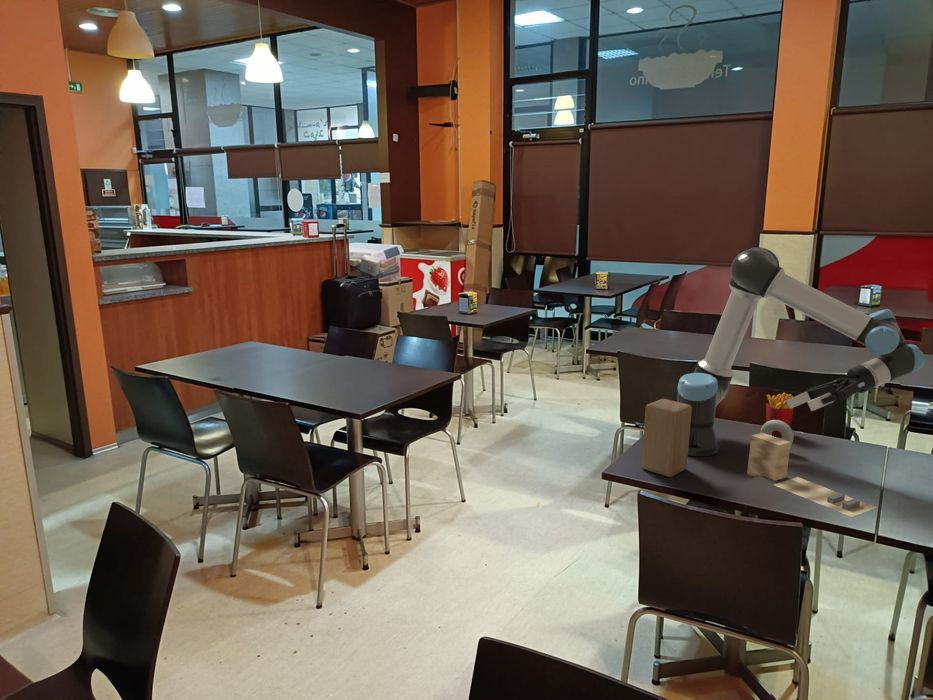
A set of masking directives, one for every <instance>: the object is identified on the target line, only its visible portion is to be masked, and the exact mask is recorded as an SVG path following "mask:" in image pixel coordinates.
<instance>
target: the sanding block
mask: <svg viewBox="0 0 933 700" xmlns="http://www.w3.org/2000/svg"><path fill="white" fill-rule="evenodd" d="M750 436H751V437H750V445H749V451H748V452H749V453H748V454H749V455H748V460H747V461H748V463H747V472H746V475H747V474H748V475H747V476H750V475H751V476H750V477H752V476H753V477H752V478H754V477H756V478H760V477H765V478H767V479H769V480H772V481H775V482H776V481H778V480H782V479H785V478H787V475H788V468H789V461H790V460H789V459H790V452H791V451H790V450H791V445H792V444H791V442H789V441H786V440H783V439H781V438H780V437H774V436H771V435H768V434H766V433H760V432H759V433H755V434H751V435H750ZM790 444H791V445H790ZM756 478H755V479H756Z"/></svg>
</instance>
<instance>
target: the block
mask: <svg viewBox="0 0 933 700" xmlns="http://www.w3.org/2000/svg"><path fill="white" fill-rule="evenodd" d="M644 410H645V414H644V423H643V440H642V452H641V468H642V469H643V470H645V471H648V472H652V473H655V474H659V475H662V476H664V477H667V478H672V477H674V476H676V475H678V474H680V473H681V472H683V471H685V470H686V469H687V467H688V458H689V457H688V456H689V455H688V446H689V435H690V424H691V413H692V406H691V405H688V404H684V403H680V402H677V400H676V401H675V400H672V399H668V398H660V399H658V400H655V401H652V402H650V403H647V404H646V405H645V409H644Z"/></svg>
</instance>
